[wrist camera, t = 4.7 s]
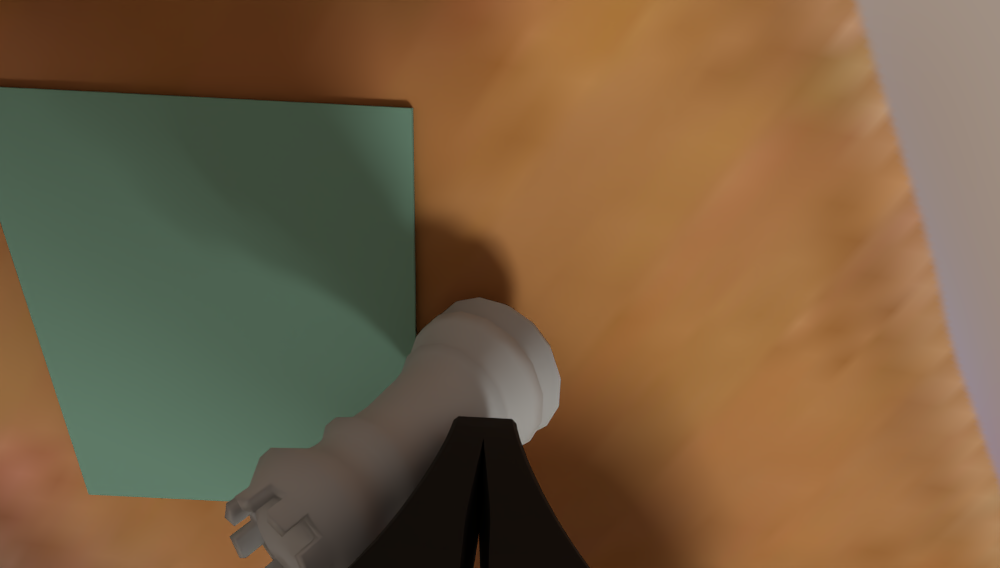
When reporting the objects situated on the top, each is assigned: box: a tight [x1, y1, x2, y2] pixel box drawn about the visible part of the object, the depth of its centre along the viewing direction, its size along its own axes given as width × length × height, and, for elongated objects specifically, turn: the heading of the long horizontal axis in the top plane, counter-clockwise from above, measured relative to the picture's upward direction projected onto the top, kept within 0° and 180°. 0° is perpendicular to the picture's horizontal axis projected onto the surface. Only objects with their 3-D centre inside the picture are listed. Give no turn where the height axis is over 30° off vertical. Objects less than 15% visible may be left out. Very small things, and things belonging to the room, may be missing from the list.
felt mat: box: [0, 87, 416, 501], centre depth 17 cm, size 14×12×1 cm
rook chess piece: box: [225, 297, 561, 568], centre depth 13 cm, size 4×4×8 cm
